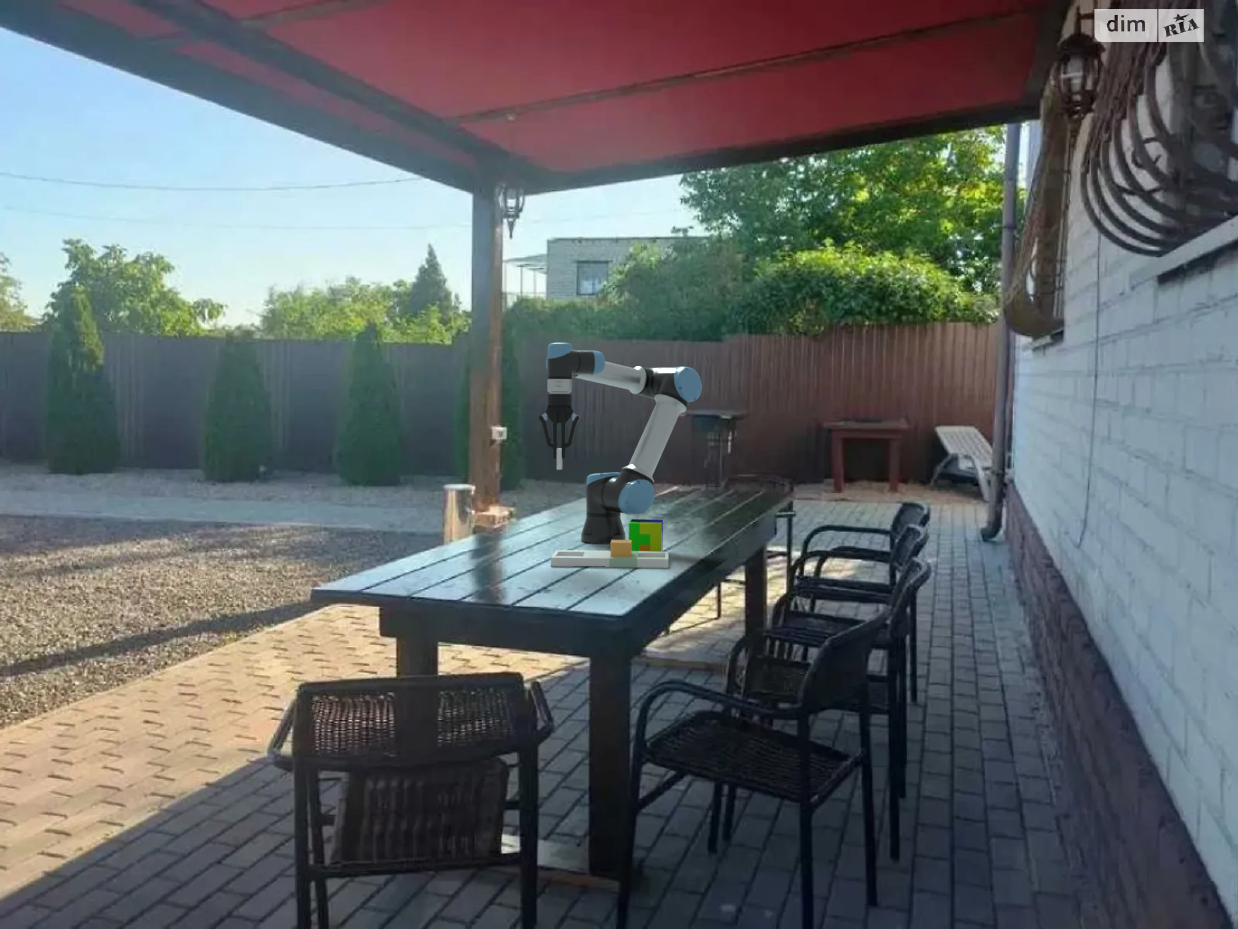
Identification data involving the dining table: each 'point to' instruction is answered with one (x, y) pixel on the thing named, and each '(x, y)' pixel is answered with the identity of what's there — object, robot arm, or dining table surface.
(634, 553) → the plate
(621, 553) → the orange block
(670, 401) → the robot arm
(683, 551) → the dining table surface
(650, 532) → the puzzle toy
